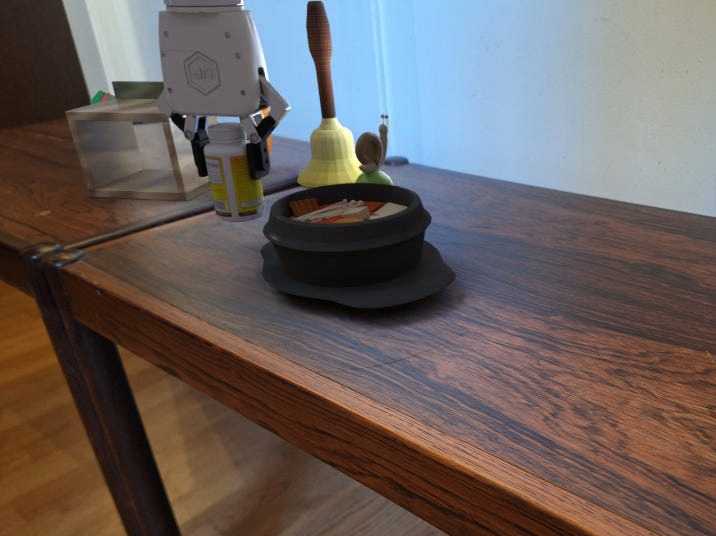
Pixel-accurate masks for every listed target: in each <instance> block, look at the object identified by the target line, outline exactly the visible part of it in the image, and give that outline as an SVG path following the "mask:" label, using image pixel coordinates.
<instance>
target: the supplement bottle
mask: <svg viewBox="0 0 716 536" xmlns="http://www.w3.org/2000/svg"><path fill="white" fill-rule="evenodd" d="M207 130H208V137H209V141H210V142H211V143H209V144H207V145H206V146H205V147H204V156H205V161H206V166H207V171H208V176H209V181H210V186H211V189H210V191H211V196H212V197H211V198H212V202H213V207H214V212H215V215H216V217H217V218H218V219H219V220H220V221H223V222H227V223H246V222H251V221H255V220H257V219H260V218H261V217H263V216H264V215H265V213H266V203H265V197H264V189H263V184H262V178H261V179H259V180H253V179H251V177H250V171H249V165H248V158H247V152H246V144H247V143H249V142H250V141H248V140H246V139H247V136H246V135H247V134H246V131H245V129H244V127H243V125H242V123H240V122H235V121H226V122H218V123H215V124H211V125H209V126H208V127H207Z"/></svg>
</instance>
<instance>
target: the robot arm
mask: <svg viewBox="0 0 716 536" xmlns="http://www.w3.org/2000/svg"><path fill="white" fill-rule="evenodd" d="M163 4H164V5H165V10H159V11H158V47H159V48H158V50H159V59H160V66H161V68H160V69H161V75H162V81H163V82H164V87H165V88H164V89H163V91H162V93H161V95H160V96H159V98H158V100H157V102H156V105H157V107H158V108H159V109H160V110H161V111H162V112H163V113H164V114H165V115H167V116H168V117H169V118H171V120H172V122H173V123H174V124H175V125H176V126H177V127H178V128H179V129H180V130H181V131H182V132H183V133H184V137H185V138H186V139H187V140H190V141H191V147H192V152H193V157H194V162H195V165H196V167H197V170H198V175H199V177H206V176H208V171H207V166H206V161H205V156H204V147H205V146H206V145H207V144H209V143H211V142H210V141H209V137H208V135H207V127H208V120H209V116H216V117H220V118H240V119H239V121H240V120H241V122H242V125H243V127H244V129H245V131H246V133H247V135H248V137H249V140H250V142H249V143H247V144H246V152H247V158H248V165H249V171H250V177H251V179H253V180H259V179H261V180H262V179H263V178H265V177H266V176H268V175H269V173H270V169H271V160H270V158H271V157H270V158H269V152H268V145H267V138H269V137H270V135H271V136H272V133H273V132H274V131H275V129H276V128H277V127H278V126H279V124H280V122H281V121H282V120H283V119H284V118H285V117H286V116H288V114H289V112H290V111H291V109H292V107H291V105H290V104H289V103H288V101H287V100H286V99H285V98H284V97H283V96H282V95H281V94H280V93H279V91H278V90H277V89H276V88H275V86H274V85H272V83H271V82H270V78H269V74H268V73H269V72H268V68H267V64H266V63H267V62H266V58H265V54H264V51H263V46H262V42H261V39H260V35H259V32H258V28H257V26H256V23H255V19H254V17H253V14H252V12H251V10H249V9H248V10H247V9H246V8H245V2H244V0H163ZM268 107H269V108H270V109H269V114H268V115H267V116H266V117H265V118H264V117H263V114H262V112H261V110H264V109H267V108H268Z"/></svg>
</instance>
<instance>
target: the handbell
mask: <svg viewBox="0 0 716 536" xmlns="http://www.w3.org/2000/svg"><path fill="white" fill-rule="evenodd" d="M306 4H307V5H306V18H305V19H306V20H305V28H306V29H305V30H306V38H307V45H308V51H309V54H310V55H311V59H312V61H313V63H314V64H313V65H314V68H315V74H316V75H315V76H316V81H317V82H316V84H317V90H318V99H319V105H320V106H319V107H320V115H321V121H320V124H319V126H318V127H316V128H314V130H312V132H311V134H310V136H309V144H310V145H309V146H310V153H311V158H310V160H309V163H308V164H307V166H306V167H305V168H304V169H303V170H302V171H301V172H300V173H299V174H298V176H297V178H296V179H297V180H296V183H298V185H301V186H302V187H306V188H314V187H320V186H325V185H333V184H344V183H355V181H356V179H357V178H358V177H359V175H360V174H362V173H363V172H362V171H361V170H360V169H359V166H360V165H362V164H361V163H360V162H359V161H358V159H357V157H356V153H355V141H354V135H353V133H352V131H351V130H350V129H348V128H347V127H346V126H342V124H341V123H340V122H339V120H338V118H337V113H336V104H335V95H334V88H333V78H332V70H331V69H332V67H331V63H332V61H331V59H332V54H333V42H332V41H333V40H332V32H331V26H330V21H329V18H328V14H327V11H326V7H325V5H324V2H323V1H322V0H308V2H307V3H306Z"/></svg>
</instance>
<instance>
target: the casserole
mask: <svg viewBox="0 0 716 536" xmlns="http://www.w3.org/2000/svg"><path fill="white" fill-rule="evenodd" d="M432 220H433V219H432V214H431V213H430V212H429V211H428V210H427V209H425V206H424V204H423V201H422V199H421V197H420V195H419V194H418V193H416V192H415V191H414V190H411V189H409V188H407V187H403V186H399V185H395V184H394V185H388V184H378V183H344V184H333V185H325V186H320V187H314V188H312V187H309V188H305V189H302V190H298V191H295V192H293V193H289V194H287V195H284V196H283V197H280V198H279V199H277V200H276V201H274V202H273V204H272V205H271V206H270V210H269V216H268V220H267V222H266V223H265V224H264V226H263V228H262V234H263V236H264V237H265V238H266V239H267V240H268V241H269V242H267V243H265V244H263V246H262V247H261V248H260V250H259V252H260V255H261V257H262V260H263V264H262V270H261V271H262V272H261V275H262V277H263V280H264V281H265V282H266V283H267V284H268V285H269V286H271V287H272V288H275V289H277V290H279V291H281V292H283V293H287V294H288V295H293V296H297V297H301V298H302V297H303V298H309V299H315V300H323V301H330V302H332V303H333V302H334V303H337V304H340V305H343V306H346V307H350V308H355V309H363V310H364V309H365V310H375V309H385V308H390V307H396V306H400V305H406V304H409V303H412V302H416V301H419V300H422V299H425V298H427V297H430V296H433V295H435V294H437V293H439V292H440V291H443V290H444V289H447V288H448V287H449V286H450V285H451V284H453V283H454V281H456V275H457V274H456V273H455V272H454V270H453V269H452V268H451V267H450V266H449V265H447V264H446V262H444V259H443V257H442V255H441V253H440V250H439V249H438V248H437V247H436V246H434V244H432V243H430V242H429V241H427V240H425V236H426V230H427V229H428V228H429V226H430V225H431V224H432Z"/></svg>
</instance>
